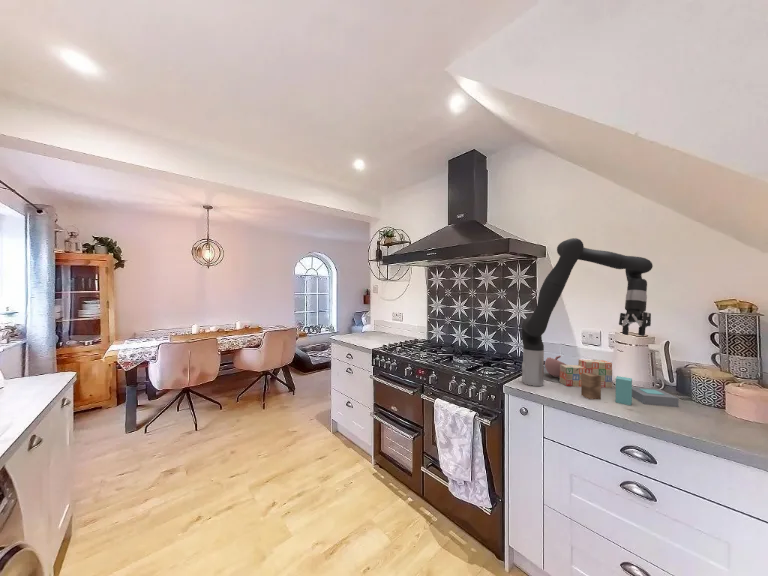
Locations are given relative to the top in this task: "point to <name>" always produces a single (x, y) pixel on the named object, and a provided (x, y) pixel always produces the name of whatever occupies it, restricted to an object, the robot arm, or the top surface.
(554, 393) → the top surface
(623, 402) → the teal block
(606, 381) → the stack of blocks
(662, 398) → the grey square base
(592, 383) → the walnut block
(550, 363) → the pink apple
